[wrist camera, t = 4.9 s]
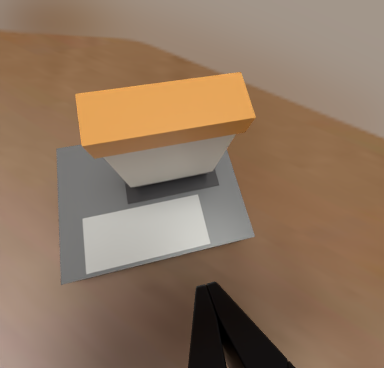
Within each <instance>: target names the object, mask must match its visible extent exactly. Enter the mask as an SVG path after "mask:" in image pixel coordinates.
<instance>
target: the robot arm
mask: <svg viewBox="0 0 384 368" xmlns="http://www.w3.org/2000/svg"><path fill="white" fill-rule="evenodd" d="M225 359H226V361H227V364H228V366H229V368H295V367H294V366H293V365H292V363H291V362H290V361H288V360H287V358H286V357H285V356H284V355H283V354H282V353H281V352H280V351H279V349H278V348H277V347H276V346H275V345H274V344H273V343H272V342H271V341H270V340H269V339H268V338H267V336H266V335H265V334H264V333H263V332H262V331H261V330H260V329H259V328H258V327H257V326H256V325H255V323H254V322H253V321H252V320H251V319H250V318H249V317H248V316H247V315H246V314H245V313H244V311H243V310H242V309H241V308H240V307H239V306H238V305H237V304H236V303H235V302H234V301H233V300H232V298H231V297H230V296H229V295H228V294H227V293H226V292H225V291H224V290H223V289H222V288H221V286H220V285H219V284H218V283H217V282H211V283H208V284H206V285H205V284H204V285H200V286H197V287H196V292H195V302H194V312H193V322H192V333H191V343H190V353H189V363H188V368H227V367H226V361H225Z"/></svg>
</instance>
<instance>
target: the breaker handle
mask: <svg viewBox="0 0 384 368" xmlns="http://www.w3.org/2000/svg"><path fill="white" fill-rule="evenodd" d="M75 96H76V104H77V112H78V120H79V128H80V136H81V144H82V147H83V148H84V149H85V150H86V151H87V152H88V153H89V154H90V155H91V156H92V157H93V158H94V159H96V158H102V157H103V158H104V159H105V160H106V161H107V162H108V163H109V164H110V165H111V166H112V168H113V169H114V170H115V171H116V172H117V173H118V174H119V175H120V176H121V177H122V179H123V180H124V181H125V182H126V183H127V184H128V185H129V186H130V187H134V188H135V187H140V186H145V185H150V184H155V183H160V182H166V181H171V180H176V179H181V178H186V177H191V176H196V175H201V174H206V173H209V172H211V171H213V170H214V168H215V167H216V165H217V163H218V162H219V160H220V159H221V157H222V155H223V154H224V152H225V151H226V149H227V147H228V146H229V144H230V143H231V141H232V139H233V138H234V136H235V135H236V134H239V133H244V132H246V130H247V129H248V128H249V126H250V125H251V123H252V122H253V121H254V119H255V118H256V117H255V114H254V111H253V108H252V105H251V101H250V98H249V95H248V92H247V89H246V86H245V83H244V80H243V77H242V74H241V72H237V73H230V74H222V75H215V76H207V77H200V78H192V79H185V80H177V81H170V82H162V83H154V84H147V85H139V86H132V87H124V88H117V89H109V90H102V91H94V92H87V93H79V94H75Z"/></svg>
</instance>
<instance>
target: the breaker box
mask: <svg viewBox="0 0 384 368" xmlns="http://www.w3.org/2000/svg"><path fill="white" fill-rule="evenodd" d="M57 178H58V208H59V237H60V267H61V285H62V284H67V283H71V282H75V281H79V280H84V279H88V278H92V277H96V276H100V275H104V274H108V273H112V272H116V271H120V270H124V269H128V268H132V267H136V266H140V265H144V264H148V263H152V262H156V261H160V260H164V259H168V258H172V257H176V256H180V255H184V254H188V253H192V252H196V251H200V250H204V249H208V248H212V247H216V246H220V245H224V244H228V243H232V242H236V241H240V240H244V239H248V238H251V237H255V235H254V232H253V229H252V226H251V223H250V220H249V217H248V214H247V211H246V208H245V205H244V201H243V198H242V195H241V192H240V189H239V186H238V183H237V180H236V177H235V174H234V171H233V167H232V164H231V161H230V158H229V155H228V152H227V149H226V151H225V152H224V154H223V155H222V157H221V159H220V160H219V162H218V163H217V165H216V167H215V168H214V170H213V171H211V172H209V173H206V174H201V175H196V176H191V177H186V178H181V179H176V180H171V181H166V182H160V183H155V184H150V185H145V186H140V187H135V188H134V187H130V186H129V185H128V184H127V183H126V182H125V181H124V180H123V179H122V177H121V176H120V175H119V174H118V173H117V172H116V171H115V170H114V169H113V168H112V166H111V165H110V164H109V163H108V162H107V161H106V160H105V159H104V158H103V157H102V158H96V159H94V158H93V157H92V156H91V155H90V154H89V153H88V152H87V151H86V150H85V149H84V148H83V147H82V145H76V146H70V147H64V148H58V149H57Z"/></svg>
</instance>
